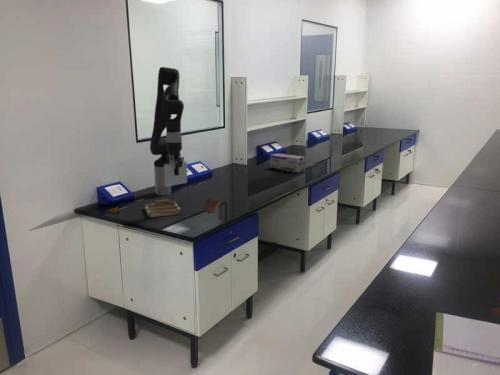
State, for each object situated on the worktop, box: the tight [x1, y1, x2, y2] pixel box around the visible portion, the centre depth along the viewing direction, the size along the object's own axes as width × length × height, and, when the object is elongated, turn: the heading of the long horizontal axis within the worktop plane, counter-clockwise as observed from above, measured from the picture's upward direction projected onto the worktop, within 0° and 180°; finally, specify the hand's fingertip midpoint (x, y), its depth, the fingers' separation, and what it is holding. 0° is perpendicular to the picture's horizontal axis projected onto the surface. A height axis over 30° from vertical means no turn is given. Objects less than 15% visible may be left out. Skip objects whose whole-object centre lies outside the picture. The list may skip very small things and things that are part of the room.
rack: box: [144, 200, 182, 218], centre depth 218 cm, size 15×16×4 cm
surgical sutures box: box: [269, 152, 306, 173], centre depth 324 cm, size 25×11×11 cm, turn 50°
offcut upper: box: [155, 198, 172, 207], centre depth 221 cm, size 4×7×2 cm, turn 115°
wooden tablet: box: [200, 198, 223, 214], centre depth 231 cm, size 26×2×10 cm
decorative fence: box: [107, 198, 145, 215], centre depth 229 cm, size 25×2×10 cm
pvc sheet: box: [164, 160, 188, 187], centre depth 215 cm, size 2×12×11 cm, turn 133°
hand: (175, 174), depth 215 cm, fingers closed on pvc sheet, 2 cm apart
